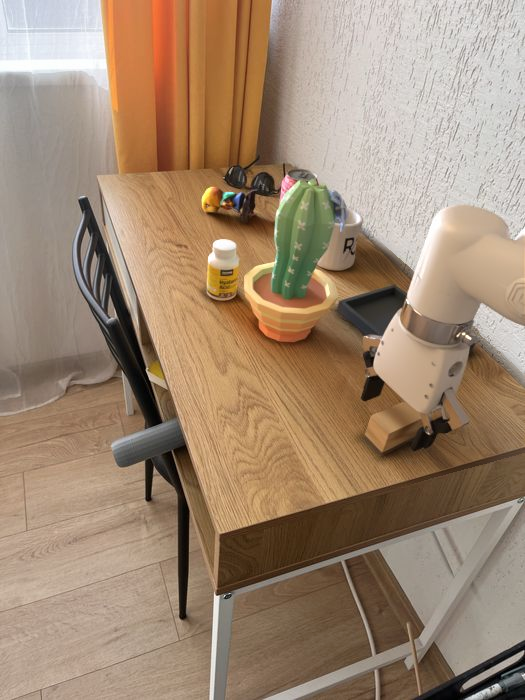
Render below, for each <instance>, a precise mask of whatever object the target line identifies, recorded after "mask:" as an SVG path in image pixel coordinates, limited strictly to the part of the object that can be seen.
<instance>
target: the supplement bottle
mask: <svg viewBox="0 0 525 700" xmlns="http://www.w3.org/2000/svg"><path fill="white" fill-rule="evenodd" d="M239 270H240V258H239V256H238V255H237V244H236V242H234V241H233V240H230V239H225V238H223V239H222V238H221V239H217V240H215V241H214V242H213V243H212V252H211V253H210V254H209V255H208V257H207V273H206V274H207V275H206V294H207V295H208V297H210V298H211V299H214V300H216V301H221V302H223V301H224V302H225V301H229V300H232V299H233V298H235V297H236V295H237V293H238V292H237V290H238V279H239Z"/></svg>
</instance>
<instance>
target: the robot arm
mask: <svg viewBox="0 0 525 700" xmlns="http://www.w3.org/2000/svg"><path fill="white" fill-rule="evenodd" d="M510 233H511V231H510V227H509V225H508V223H507V222H506V221H505V219H503V218H502V217H501V216H499V215H498V214H496V213H494V212H492V211H490V210H488V209H485V208H482V207H480V206H475V205H469V204H452V205H448V206H445V207H443V208H442V209H440V210H439V211H438V212H437V213H436V214H435V215H434V217H433V219H432V221H431V223H430V226H429V229H428V233H427V235H426V238H425V241H424V243H423V248H422V250H421V252H420V256H419V259H418V261H417V264H416V267H415V270H414V272H413V276H412V278H411V282H410V284H409V287H408V289H407V292H406V293H407V296H406V299H405V302H404V304H403V307H402V308H401V309H399V310H398V311H397V313H396V314H395V316H394V317H393V319H392V320H391V322H390V323H389V325H388V327H387V329H386V331H385V333H384V335H383V336H378V335H373V334H369V335H367V336H366V335H364V336H363V337H362V349H363V351H364V352H363V353H362V358H363V362H364V365H365V369H364V370H363V373H364V375H365V376H366V377H365V380H364V385H363V388H362V392H361V395H360V400H361V401H362V402H365V403H366V402H368V401H370V400H373V399H375V398H378V397H380V396H381V394H382V392H383V390H384V386H385V384H386V385H387V386H388V387H389V388H390V389H391V390H393V391H394V392H395V393H396V394H397V395H398V396H399V397H400V398H401V399H402V400H403V401H406V402H407V403H408V404H409V405H410V406H411V407H412V408H414V409H415V410H416V411H418V412H419V413H420V414H421V419H422V423H423V426H422V427H420V428H419V429H418V431H417V433H416V435H415V438H414V440H413V441H411V444H410V451H412V452H413V453H416V452H418V451H420V450H421V449H424V450H427V449H430V448H431V447H432V446H433V445H434V443H435V441H436V439H437V437H438V435H439V434H442V435H443V434H445V435H446V434H449V433H451V432H453V431H457V430H458V429H460V428H463V427H464V426H466V425H469V423H470V419H469V417H468V415H467V413H466V411H465V410H464V408H463V406H462V405H461V403H460V401H459V399H458V397H457V393H458V391H459V389H460V386H461V383H462V380H463V377H464V375H465V371H466V369H467V368H466V367H467V364H468V359H469V349H470V346H471V345H472V344H473V343H474V342H475V343H476V341H477V339H478V335H476V334H475V333H474V332H473V330H472V327H473V326H474V324H475V317H476V315H477V313H478V310H479V309H480V306H481V304H483V305H484V306H486V307H488V308H489V309H491V310H492V311H493V312H495V313H497V314H498V315H500V316H502V317H504V318H505V319H507V320H509V321H510V322H513V323H515V324H517V325H519V326H522V327H525V226H524V227H523V228H522V229H521V230H520V231H519V232H518V234H517V235H516V237H514V239H512V238H511V234H510ZM445 411H446V412H447V414H448V416H449V418H447V416H446V412H445ZM432 413H433V414H434V419H433V415H432Z"/></svg>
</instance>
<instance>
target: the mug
mask: <svg viewBox="0 0 525 700" xmlns="http://www.w3.org/2000/svg"><path fill="white" fill-rule="evenodd" d="M347 210H348V218H347V222H346V224H345V227H344V230H343V232H340V229H341V221H339V219H336V220H335V224H334V228H333V232H332V236H331V239H330V243H329V247H328V249H327V250H326V252H325V253H324V254H323V256H322V257H321V258H320V260H319V261H318V263H317V265H316V266H318V267H320V268H321V269H324V270H328V271H337V272H338V271H344V270H347V269H349V268H351V267H352V266H353V265H354V263H355V259H356V249H357V243H358V238H359V235H360V231H361V228H362V226H363V223H364V217H363V216H362V214H361V213H360V212H358V211H357V210H354V209H352V208H350V207H347Z"/></svg>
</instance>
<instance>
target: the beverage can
mask: <svg viewBox="0 0 525 700" xmlns="http://www.w3.org/2000/svg"><path fill="white" fill-rule="evenodd" d="M318 176H319V175H318V174H317V173H316V172H314V171H312V170H309V169H304V168H292V169H288V170H287V171H286V175H285V176H284V178H283V179H282V181H281V187H280V188H281V189H280V197H279V204H278V207H279V206H280V202H281V200H282V199H283V197H284V195H285V194H286V192H287V191H288V190H289V189H290V188H291V187H292V186H294V185H295V184H296V183H297V182H298V181H299V180H300V179H303V180H304V181H306V182H307V183H308V182H309V181H310V180H311V179H315V180H316V182H317V186H320V184H319V181H318Z"/></svg>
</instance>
